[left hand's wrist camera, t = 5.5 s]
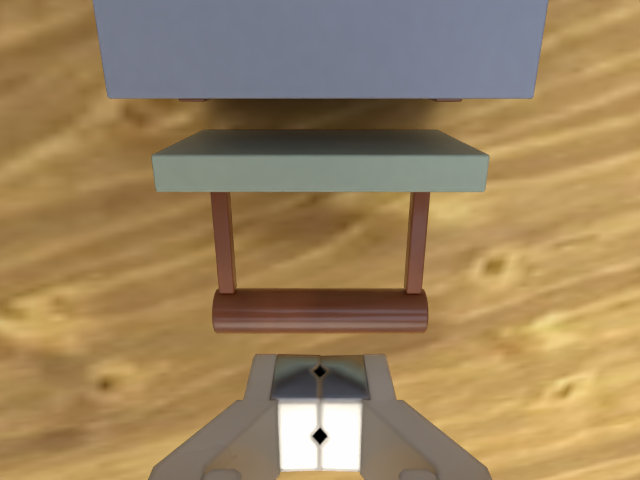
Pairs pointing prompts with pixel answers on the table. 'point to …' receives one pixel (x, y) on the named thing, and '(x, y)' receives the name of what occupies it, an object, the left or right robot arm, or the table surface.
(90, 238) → the table surface
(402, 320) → the drawer
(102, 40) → the cabinet
